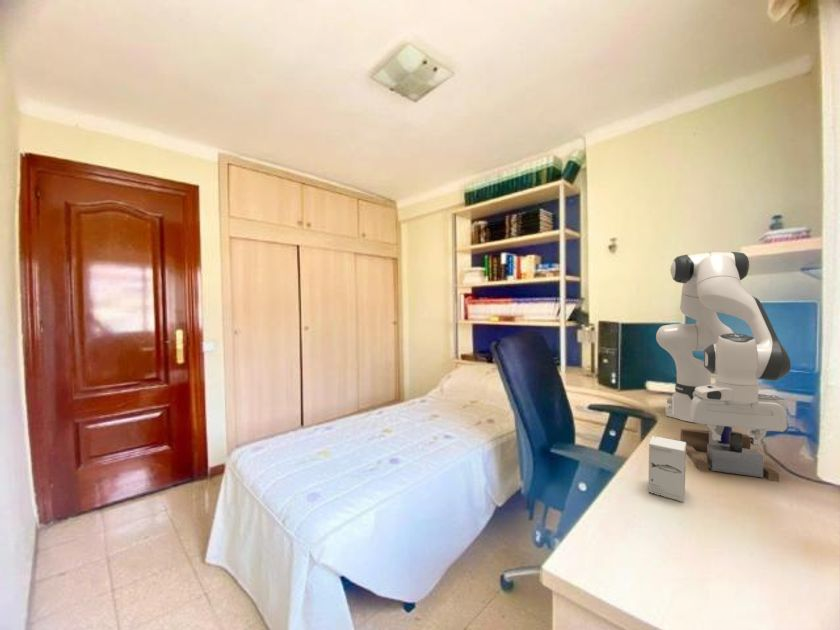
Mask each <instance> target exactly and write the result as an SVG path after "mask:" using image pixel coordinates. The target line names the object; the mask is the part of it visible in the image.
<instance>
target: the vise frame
mask: <svg viewBox="0 0 840 630" xmlns="http://www.w3.org/2000/svg"><path fill="white" fill-rule="evenodd" d="M751 437H752V436H749V435H748V434H746V433H745V434H744V433H742V448H745V449H751ZM680 441H682V442H686V456H687V457H688V458H689V459H690V460H691V462H692V463H693V464H694V465H695V467H697V470H699V471H701V472H702V471H703V472H709V466H708V464H707V460H705V459H704V458H703V456H701V454H699V452H700V453H706V454H707V444H709V430H705V429H704V430H703V429H693V428H684V427H680ZM763 477H765V478H766V479H767V480H768V481H772V482H773V481H774V482H779V477H780V475H779V472H777V471H776V470H775V469H773V468H772V467H771V466H770V465H768V464H767V463H766V462H764V461H763Z"/></svg>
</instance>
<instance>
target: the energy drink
mask: <svg viewBox="0 0 840 630" xmlns="http://www.w3.org/2000/svg"><path fill="white" fill-rule="evenodd" d="M714 430H715V432H716V433H719V435H721V438H720V439H721V441H714V440H713V439H712V432H711V431H710V429H709V428H708V431H709V444H710V445H719V446H727V447H730V431H733V427H728V426H718V425H716V429H714Z"/></svg>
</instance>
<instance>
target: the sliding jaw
mask: <svg viewBox="0 0 840 630" xmlns="http://www.w3.org/2000/svg"><path fill="white" fill-rule="evenodd" d="M742 434H743V433H742V432H738V431H734V430H732V431H730V447H727V446H719V445H710V444H707V453H706V462H707V464H708V468H709V469H710V470H711V471H713V472H721V473H729V474H734V475H741V476H742V475H743V476H748V477H749V476H750V477H756V478H757V477H758V478H764V475H763V462H764V454H762V453H761V452H760V451H758V450H756V449H752V448H750V449H745V448H742Z"/></svg>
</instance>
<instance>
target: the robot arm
mask: <svg viewBox="0 0 840 630" xmlns="http://www.w3.org/2000/svg"><path fill="white" fill-rule="evenodd" d="M750 266H751V265H750V260H749V257H748V256H747V255H746V254H745V253H743V252H738V251H730V252H727V251H726V252H725V251H724V252H723V251H722V252H721V251H720V252H719V251H717V252H716V251H714V252H713V251H711V252H705V253H694V254H683V255H682V254H681V255H678V256H676V257H675V258H674V259H673V261H672V263H671V265H670V268H669V269H670V270H669V271H670V275H671V277H672V280H673V281H674V282H675V283H679V284H682V288H681V289H682V290H681V296H680V297H681V298H680V305H679V306H680V307H679V308H680V311H681V313H682V314H683V315H684V316H686V317H688V318H690V319H692V320H695V321H696V322H695V323H674V324H673V323H672V324H666V325H661V326H660V327H659V328H658V330H657V331H656V335H655V340H656V342H657V344H658V345H659V347H661V348H662V349H664V350H665V351H666V352H667V353H668V354H669V355H670V356H671V357H672V359H673V361H674V364H675V369H676V382H675V386H674V393H672V394H671V397H667V398H666V404H669V405H665V406H664V411H665V416H666V417H669V418H674V419H678V420H681V421H684V422H689V423H694V424H697V425H707V428H708V430H709V429H710V431H711V432H712V439H713V440H714V441H721V439H720V438H721V435H719V433H716V432H715V430H714V429H716V425H718V426H728V427H732V428H739V429H740V428H741V429H748V430H749V429H750V430H751V429H752V430H755V431H756V432H757V433H756V434H755V436H750V437H751V442H750V445H753V446H758V447H760V446H761V440H763V438H765V437H766V435H767V431H770V432H781V433H782V432H783V433H784V432H785V430H787V428H788V422H787V416H786V409H787V402H786V400H785V399H784V398H782V397H779V395H767V394H761V393H759V380H764V381H765V380H766V381H774V382H775V381H777V380H780V379H782V378H783V377H785V376H786V375H787V374H789V373H790V371H791V367H792V366H791V360H790V356H789V354H788V352H787V351H786V349H785V347H784V346H783V344H782V342H781V341H780V339H779V338H778V336H777V333H776V331H775V329H774V327H773V324H772V323H771V320H770V318H769V316H768V313H767V312H766V310H765V308H764V306H763V304H762V302H760V299H759V298H757V297H755V296H752V295H750V293H748V292H747V291H746V290H745V288H744V287H743V286H742V283H741V281H742V280H743V279H745V278H747V276H748V273H749V270H750ZM717 313H720V314H724V315H728V316H731V317H734V318H737V319H740V320H742V321H743V322H745V323H746V324H747V325H748V326H749V329H750V331H751V333H752V336H751V335H748V334H743V333H734V331H733V330H732V329H731V328H730V327H729V326H728V325H726V324H725V323H723V322H722V321H721V320H720V318H719V316H718V314H717ZM693 352H703V355H704V357H703V360H701V359H699V358H696V357H694V355H693ZM712 374H714V375H716V376H715V382H714V383H711V382H712V378H711V377H712ZM758 379H759V380H758Z"/></svg>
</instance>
